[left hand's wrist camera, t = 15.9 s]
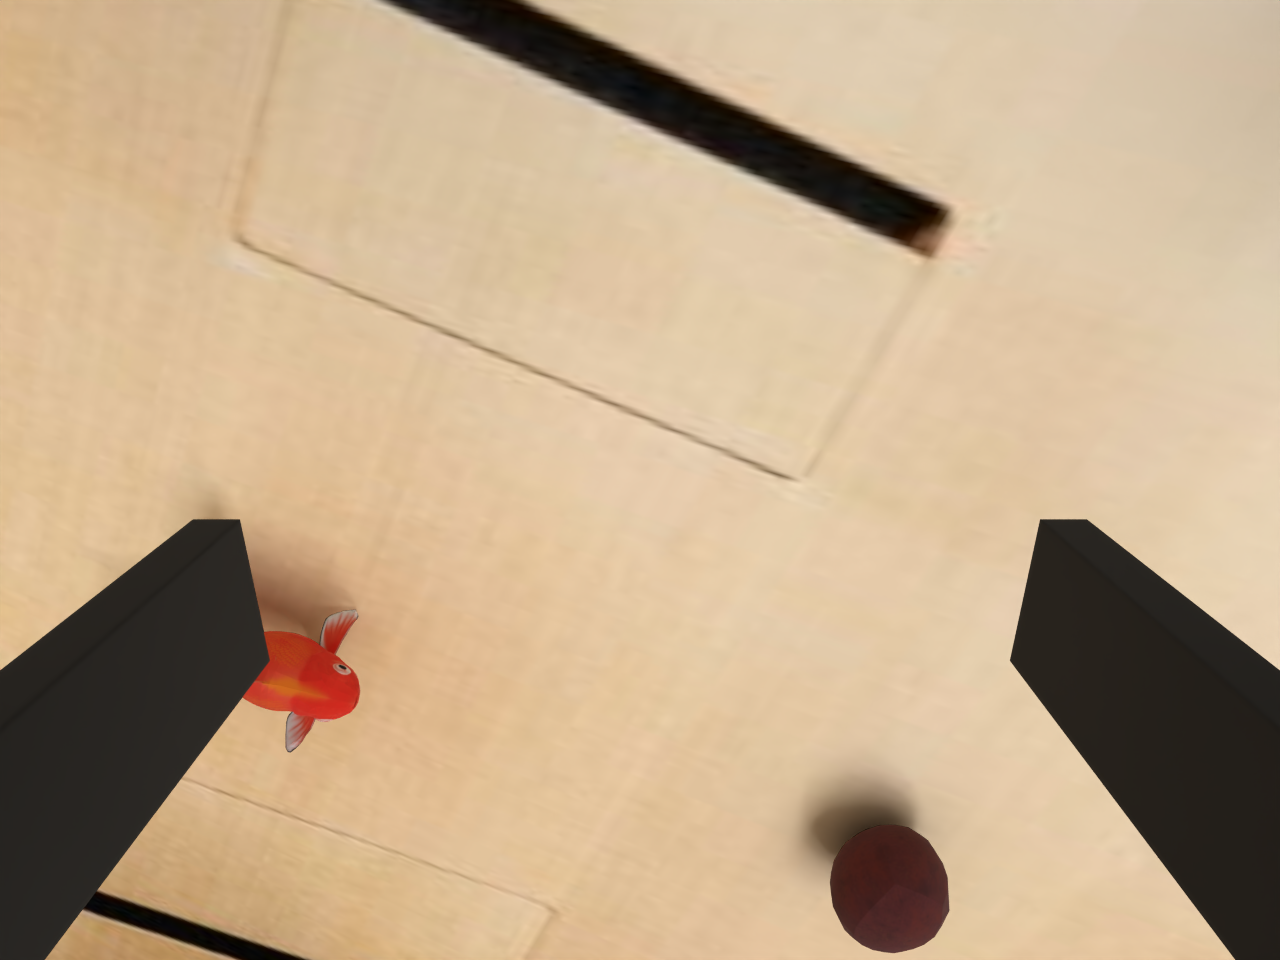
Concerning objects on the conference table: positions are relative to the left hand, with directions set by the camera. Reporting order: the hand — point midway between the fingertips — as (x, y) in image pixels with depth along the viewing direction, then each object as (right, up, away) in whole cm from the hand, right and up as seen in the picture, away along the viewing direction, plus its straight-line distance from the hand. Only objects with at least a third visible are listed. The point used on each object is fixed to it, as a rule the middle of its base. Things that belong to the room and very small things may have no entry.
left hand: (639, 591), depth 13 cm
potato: (+16, -23, +40) cm, 49 cm away
